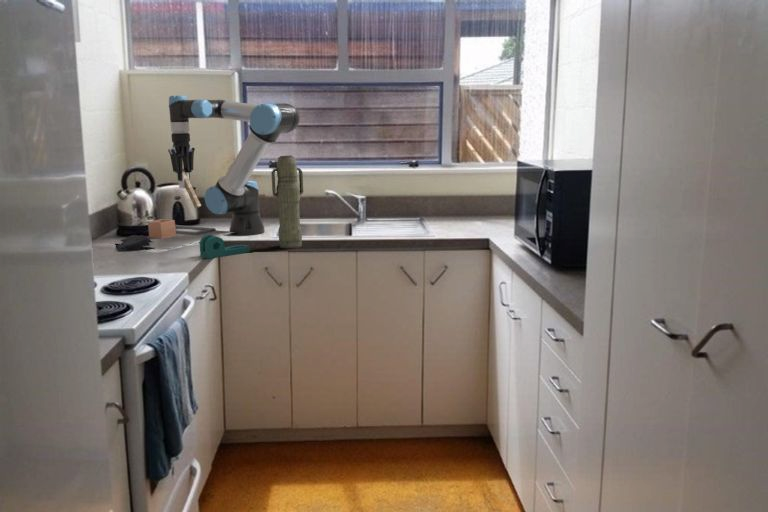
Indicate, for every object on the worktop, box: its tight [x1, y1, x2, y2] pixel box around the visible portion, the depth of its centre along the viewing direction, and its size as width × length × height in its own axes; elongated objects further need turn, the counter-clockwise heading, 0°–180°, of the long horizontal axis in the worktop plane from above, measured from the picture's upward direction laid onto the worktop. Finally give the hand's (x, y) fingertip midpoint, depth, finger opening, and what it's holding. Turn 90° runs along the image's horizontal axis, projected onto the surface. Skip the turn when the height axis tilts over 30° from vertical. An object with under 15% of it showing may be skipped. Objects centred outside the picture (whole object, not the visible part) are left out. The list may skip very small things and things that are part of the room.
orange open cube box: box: [147, 218, 177, 239], centre depth 290 cm, size 8×8×8 cm
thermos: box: [271, 155, 304, 249], centre depth 266 cm, size 9×12×35 cm
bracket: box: [199, 234, 251, 260], centre depth 257 cm, size 18×7×8 cm, turn 129°
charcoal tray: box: [175, 224, 216, 236], centre depth 304 cm, size 26×12×2 cm, turn 60°
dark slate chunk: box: [114, 234, 155, 253], centre depth 278 cm, size 15×22×5 cm
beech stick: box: [182, 168, 202, 209], centre depth 297 cm, size 10×2×17 cm, turn 60°
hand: (184, 187), depth 299 cm, fingers closed on beech stick, 2 cm apart
